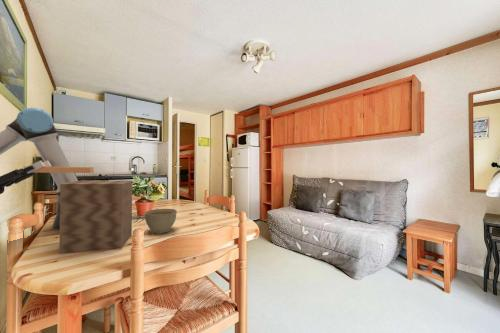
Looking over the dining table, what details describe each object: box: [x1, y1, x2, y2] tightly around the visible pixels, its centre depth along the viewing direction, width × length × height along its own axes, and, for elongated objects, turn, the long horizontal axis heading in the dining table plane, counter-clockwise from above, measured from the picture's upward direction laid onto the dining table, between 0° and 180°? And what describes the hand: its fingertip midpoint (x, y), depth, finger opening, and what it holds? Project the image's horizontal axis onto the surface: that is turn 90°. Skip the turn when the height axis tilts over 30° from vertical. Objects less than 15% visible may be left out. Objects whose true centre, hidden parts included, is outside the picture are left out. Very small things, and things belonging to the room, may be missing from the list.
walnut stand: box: [58, 179, 133, 255], centre depth 97 cm, size 22×18×28 cm
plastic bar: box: [23, 165, 95, 174], centre depth 96 cm, size 24×4×2 cm, turn 107°
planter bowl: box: [144, 208, 178, 235], centre depth 116 cm, size 16×16×11 cm
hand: (45, 163), depth 95 cm, fingers closed on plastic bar, 4 cm apart
